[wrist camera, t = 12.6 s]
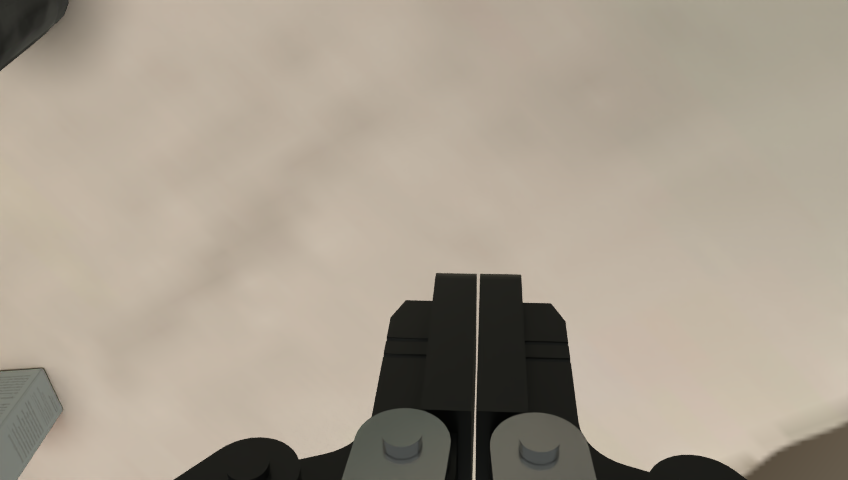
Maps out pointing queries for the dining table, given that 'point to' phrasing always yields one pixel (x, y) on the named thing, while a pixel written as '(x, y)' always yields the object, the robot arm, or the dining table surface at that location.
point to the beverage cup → (25, 24)
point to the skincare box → (24, 417)
